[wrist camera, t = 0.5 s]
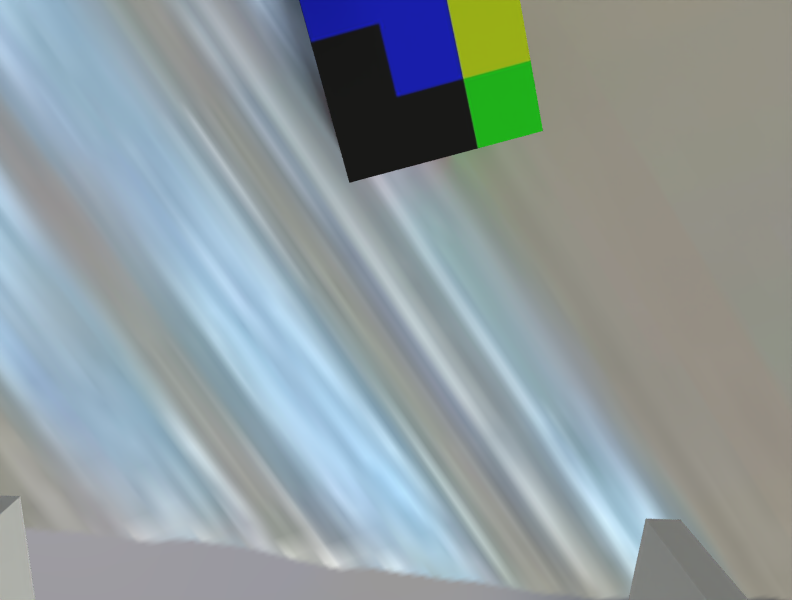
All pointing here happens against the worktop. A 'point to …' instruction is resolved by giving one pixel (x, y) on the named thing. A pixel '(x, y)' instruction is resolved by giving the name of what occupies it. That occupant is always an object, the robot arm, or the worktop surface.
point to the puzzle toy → (421, 78)
